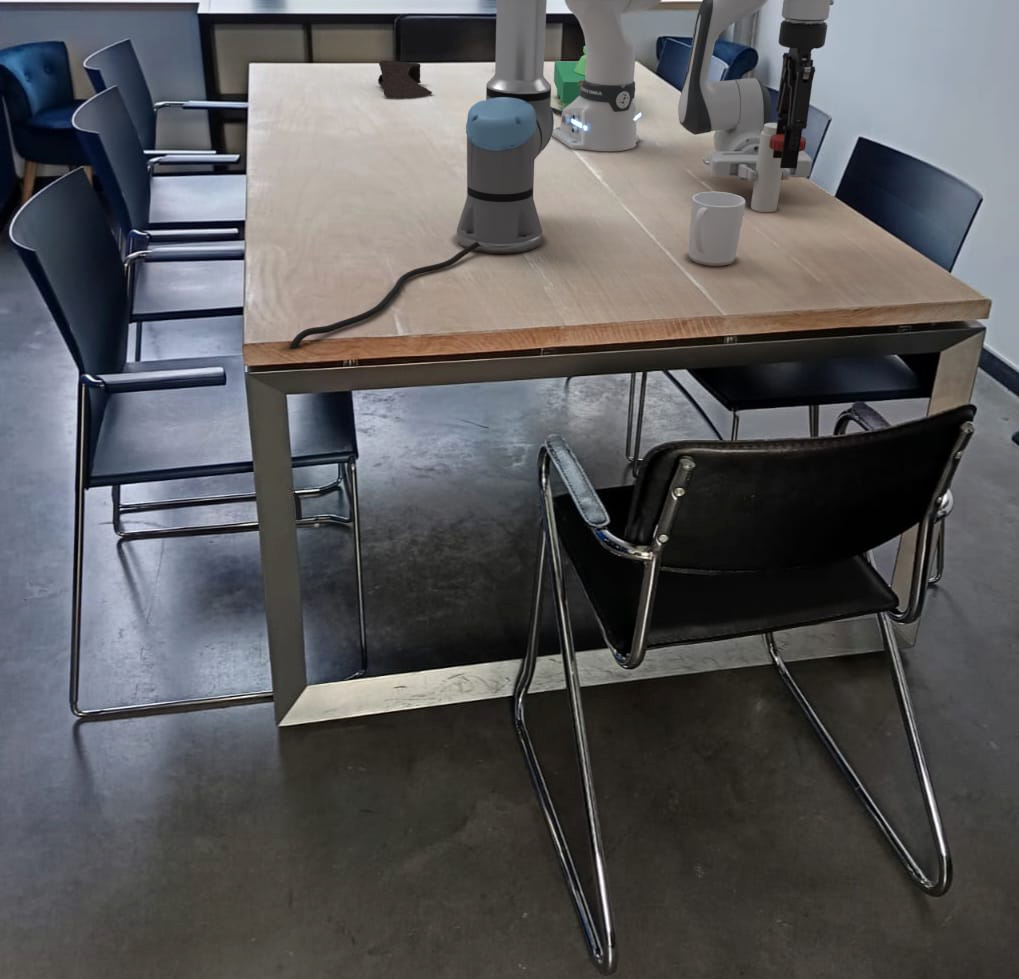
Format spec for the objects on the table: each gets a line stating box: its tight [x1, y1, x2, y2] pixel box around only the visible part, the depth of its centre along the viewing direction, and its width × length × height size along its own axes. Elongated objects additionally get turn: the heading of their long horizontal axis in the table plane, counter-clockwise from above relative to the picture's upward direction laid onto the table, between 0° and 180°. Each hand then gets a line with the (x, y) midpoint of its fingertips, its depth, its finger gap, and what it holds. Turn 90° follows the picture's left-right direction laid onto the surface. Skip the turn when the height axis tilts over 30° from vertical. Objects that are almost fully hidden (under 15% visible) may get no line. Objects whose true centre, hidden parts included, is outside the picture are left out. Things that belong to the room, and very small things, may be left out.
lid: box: [769, 134, 807, 152], centre depth 190 cm, size 6×6×2 cm
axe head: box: [377, 59, 433, 99], centre depth 299 cm, size 18×8×15 cm
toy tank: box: [553, 45, 586, 111], centre depth 289 cm, size 18×12×35 cm
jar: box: [750, 122, 783, 213], centre depth 211 cm, size 5×5×16 cm
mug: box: [687, 191, 747, 267], centre depth 186 cm, size 11×9×10 cm
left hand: (784, 162), depth 192 cm, fingers closed on lid, 6 cm apart
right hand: (770, 175), depth 211 cm, fingers closed on jar, 5 cm apart
